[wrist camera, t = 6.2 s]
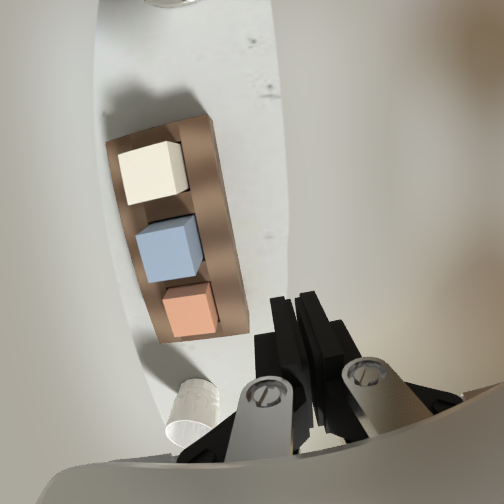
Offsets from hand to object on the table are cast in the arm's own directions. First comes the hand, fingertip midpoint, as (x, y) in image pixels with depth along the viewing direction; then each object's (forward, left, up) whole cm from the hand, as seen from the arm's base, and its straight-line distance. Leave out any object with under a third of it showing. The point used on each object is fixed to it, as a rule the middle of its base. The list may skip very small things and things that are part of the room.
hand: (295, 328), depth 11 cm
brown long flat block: (+1, -10, -27) cm, 29 cm away
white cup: (+28, -15, -27) cm, 42 cm away
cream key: (-7, -10, -23) cm, 26 cm away
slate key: (+1, -10, -23) cm, 25 cm away
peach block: (+9, -10, -25) cm, 29 cm away
